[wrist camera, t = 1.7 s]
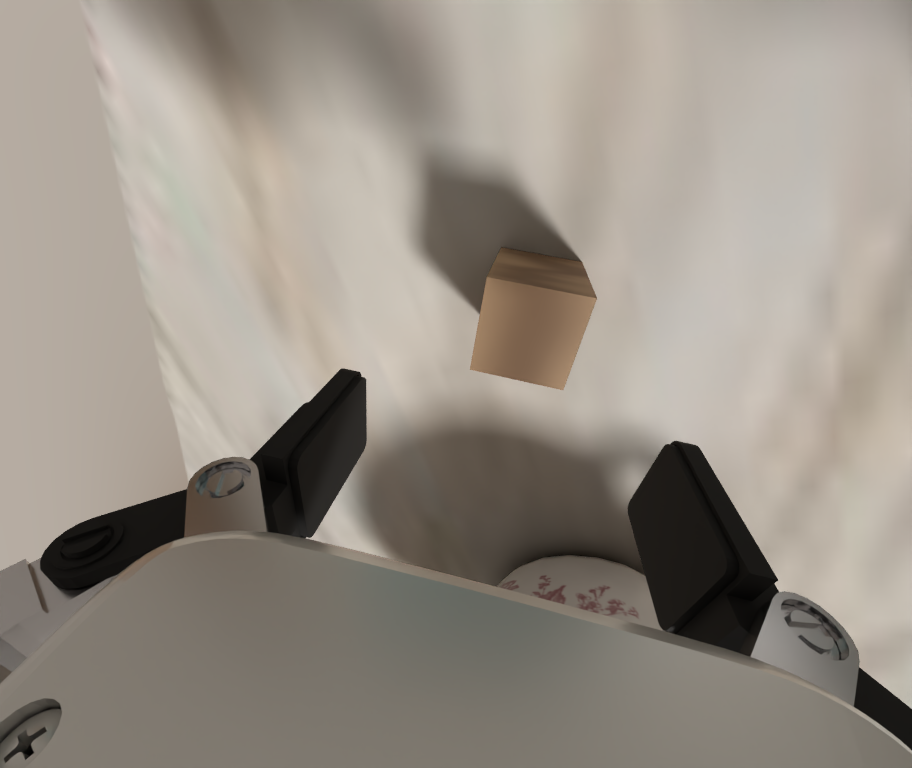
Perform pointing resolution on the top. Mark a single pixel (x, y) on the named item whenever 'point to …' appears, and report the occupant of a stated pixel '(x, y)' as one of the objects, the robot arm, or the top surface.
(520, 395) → the top surface
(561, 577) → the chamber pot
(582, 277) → the walnut block
